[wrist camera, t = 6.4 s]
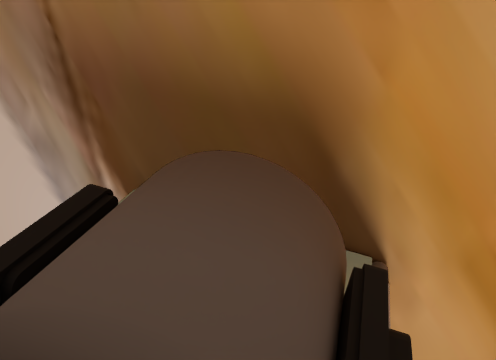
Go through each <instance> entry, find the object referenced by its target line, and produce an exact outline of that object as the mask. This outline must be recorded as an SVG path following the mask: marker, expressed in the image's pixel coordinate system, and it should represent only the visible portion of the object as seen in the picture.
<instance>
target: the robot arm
mask: <svg viewBox="0 0 496 360" xmlns="http://www.w3.org/2000/svg"><path fill="white" fill-rule="evenodd" d="M117 205H118V199H117V197H115V196H113V192H112V190H110V189H107V188H103V187H100V186H96V185H93V184H89V185H87V186H86V187H84V188H83V189H81V190H80V191H79V192H77V193H76V194H74V195H73V196H72V197H70V198H69V199H67V200H66V201H64V202H63V203H62V204H60V205H59V206H57V207H56V208H55V209H53V210H52V211H50V212H49V213H48V214H46V215H45V216H43V217H42V218H40V219H39V220H38V221H36V222H35V223H33V224H32V225H30V226H29V227H28V228H26V229H25V230H23V231H22V232H21V233H19V234H18V235H16V236H15V237H13V238H12V239H11V240H9V241H8V242H6V243H5V244H3V245H2V246H1V247H0V306H1V305H2V304H4V303H5V302H6V301H7V300H8V299H9V298H11V297H12V296H13V295H14V294H15V293H16V292H18V291H19V290H20V289H21V288H22V287H23V286H25V285H26V284H27V283H28V282H29V281H30V280H32V279H33V278H34V277H35V276H36V275H37V274H38V273H40V272H41V271H42V270H43V269H44V268H45V267H47V266H48V265H49V264H50V263H51V262H52V261H54V260H55V259H56V258H57V257H58V256H59V255H61V254H62V253H63V252H64V251H65V250H66V249H68V248H69V247H70V246H71V245H72V244H73V243H74V242H76V241H77V240H78V239H79V238H80V237H81V236H83V235H84V234H85V233H86V232H87V231H88V230H90V229H91V228H92V227H93V226H94V225H95V224H97V223H98V222H99V221H100V220H101V219H102V218H104V217H105V216H106V215H107V214H108V213H109V212H110V211H112V210H113V209H114V208H115V207H116V206H117ZM336 360H412V347H411V339H410V336H409V335H408V334H405V333H402V332H399V331H396V330H392V329H389V310H388V270H386V269H382V268H379V267H375V266H372V265H369V264H365V263H364V265H363V267H362V269H361V268H357V267H354V268H353V270H352V273H351V276H350V279H349V282H348V285H347V288H346V291H345V294H344V298H343V306H342V315H341V323H340V331H339V339H338V347H337V356H336Z"/></svg>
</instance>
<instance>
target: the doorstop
mask: <svg viewBox="0 0 496 360" xmlns="http://www.w3.org/2000/svg"><path fill="white" fill-rule="evenodd" d="M346 271H347V260H346V250H345V246H344V242H343V238H342V235H341V232H340V230H339V227H338V225H337V223H336V221H335V219H334V217H333V216H332V214H331V212H330V210H329V209H328V208H327V206H326V205H325V204H324V202H323V201H322V200H321V198H320V197H319V196H318V195H317V194H316V193H315V192H314V191H313V190H312V189H311V188H310V187H309V186H308V185H307V184H306V183H304V182H303V181H302V180H301V179H299V178H298V177H297V176H296V175H294V174H292V173H291V172H289V171H288V170H286V169H284V168H283V167H281V166H279V165H277V164H275V163H272V162H270V161H268V160H266V159H263V158H260V157H257V156H254V155H250V154H245V153H240V152H235V151H220V150H219V151H204V152H199V153H194V154H190V155H187V156H184V157H181V158H178V159H176V160H174V161H172V162H171V163H169V164H167V165H165V166H164V167H162V168H161V169H160V170H159V171H157V172H156V173H155V174H153V175H152V176H151V177H150V178H149V179H148V180H147V181H145V182H144V183H143V184H142V185H141V186H140V187H138V188H137V189H136V190H135V191H134V192H133V193H131V194H130V195H129V196H128V197H127V198H126V199H124V200H123V201H122V202H121V203H120V204H119V205H117V206H116V207H115V208H114V209H113V210H112V211H110V212H109V213H108V214H107V215H106V216H105V217H104V218H102V219H101V220H100V221H99V222H98V223H97V224H95V225H94V226H93V227H92V228H91V229H90V230H88V231H87V232H86V233H85V234H84V235H83V236H81V237H80V238H79V239H78V240H77V241H76V242H74V243H73V244H72V245H71V246H70V247H69V248H68V249H66V250H65V251H64V252H63V253H62V254H61V255H59V256H58V257H57V258H56V259H55V260H54V261H52V262H51V263H50V264H49V265H48V266H47V267H45V268H44V269H43V270H42V271H41V272H40V273H38V274H37V275H36V276H35V277H34V278H33V279H32V280H30V281H29V282H28V283H27V284H26V285H25V286H23V287H22V288H21V289H20V290H19V291H18V292H16V293H15V294H14V295H13V296H12V297H11V298H9V299H8V300H7V301H6V302H5V303H4V304H2V305H1V306H0V360H336V356H337V347H338V339H339V331H340V323H341V315H342V306H343V298H344V290H345V282H346Z"/></svg>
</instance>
